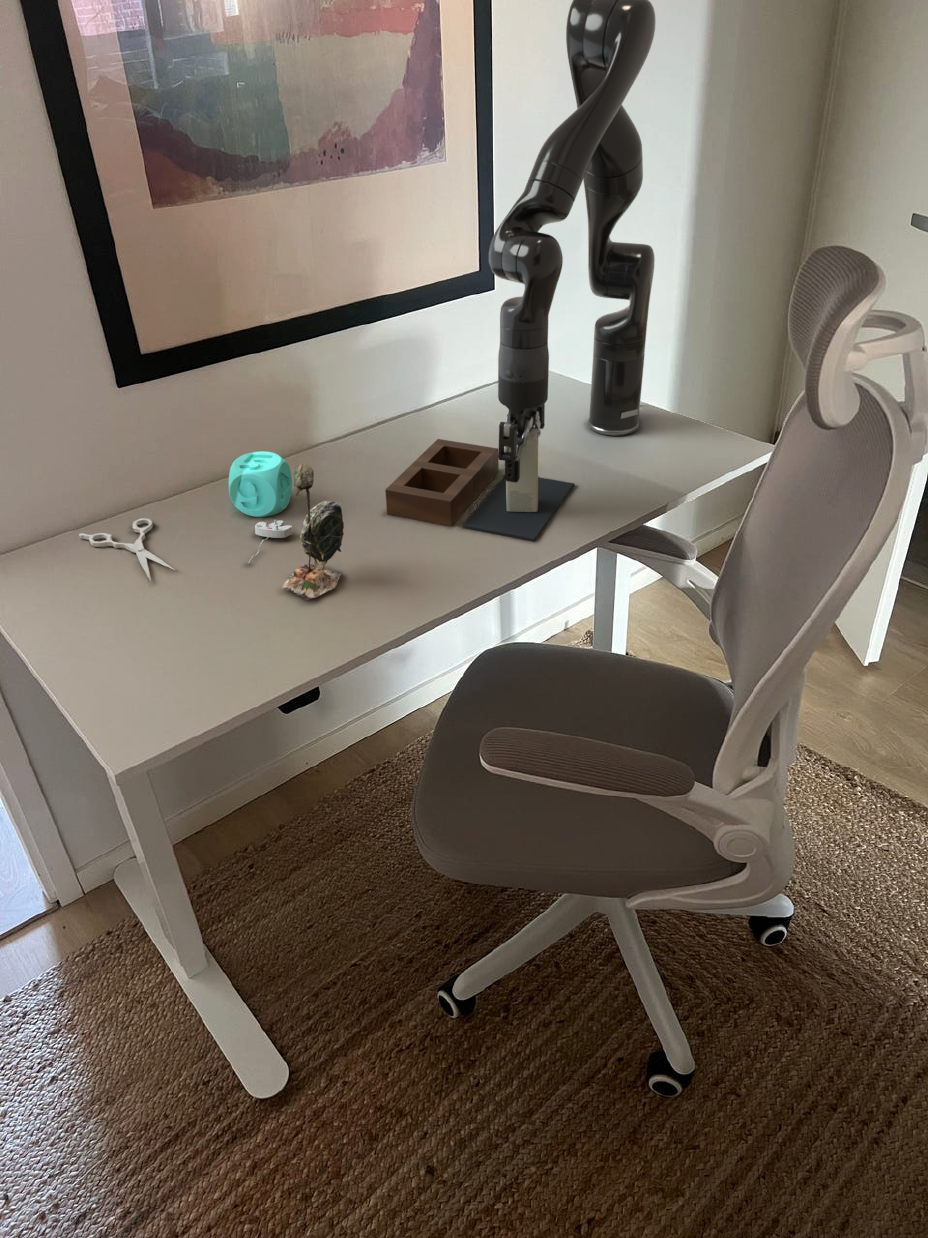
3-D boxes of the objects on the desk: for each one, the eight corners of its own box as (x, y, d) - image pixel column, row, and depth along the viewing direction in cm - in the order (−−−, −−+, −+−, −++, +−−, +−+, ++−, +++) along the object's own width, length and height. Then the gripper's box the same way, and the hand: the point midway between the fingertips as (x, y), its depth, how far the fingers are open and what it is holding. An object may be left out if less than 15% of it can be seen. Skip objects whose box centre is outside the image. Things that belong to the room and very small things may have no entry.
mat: (507, 474, 171) (507, 471, 170) (574, 485, 167) (574, 483, 166) (462, 527, 156) (462, 525, 155) (534, 541, 152) (534, 538, 151)
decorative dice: (294, 495, 166) (288, 452, 161) (280, 518, 159) (273, 473, 155) (248, 493, 167) (241, 449, 162) (232, 516, 160) (224, 471, 156)
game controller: (294, 526, 157) (292, 511, 155) (286, 564, 148) (284, 549, 146) (258, 527, 157) (256, 512, 155) (248, 565, 147) (246, 550, 146)
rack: (438, 461, 175) (437, 438, 173) (498, 472, 172) (498, 448, 169) (386, 514, 160) (385, 489, 157) (451, 526, 156) (450, 501, 153)
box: (538, 500, 162) (540, 427, 154) (537, 513, 158) (539, 439, 151) (506, 499, 162) (506, 426, 155) (504, 512, 158) (504, 438, 151)
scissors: (143, 513, 160) (197, 561, 147) (143, 517, 160) (198, 566, 147) (78, 533, 154) (128, 586, 141) (79, 538, 155) (130, 591, 142)
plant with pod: (366, 576, 144) (355, 450, 133) (304, 607, 138) (287, 478, 126) (331, 556, 149) (317, 433, 138) (269, 586, 143) (250, 459, 131)
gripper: (530, 391, 140) (528, 493, 150) (562, 357, 151) (558, 454, 160) (482, 384, 143) (482, 485, 152) (516, 352, 154) (515, 448, 163)
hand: (521, 469), depth 156 cm, fingers open, 8 cm apart
